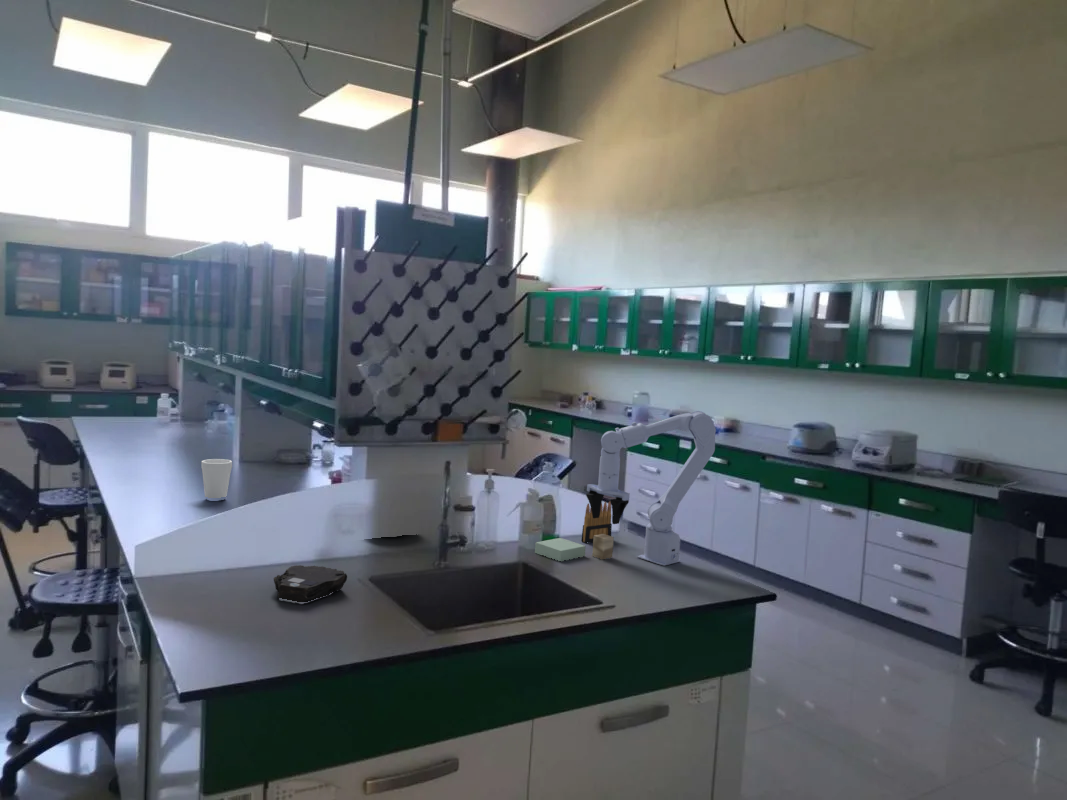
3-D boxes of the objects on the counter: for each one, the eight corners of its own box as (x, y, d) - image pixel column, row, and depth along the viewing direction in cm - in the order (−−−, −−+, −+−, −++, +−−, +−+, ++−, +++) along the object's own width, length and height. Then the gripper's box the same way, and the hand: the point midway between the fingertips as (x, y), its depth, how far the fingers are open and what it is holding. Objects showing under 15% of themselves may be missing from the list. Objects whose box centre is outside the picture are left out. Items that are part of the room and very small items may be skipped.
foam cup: (236, 500, 257) (237, 461, 256) (212, 504, 249) (213, 464, 248) (219, 495, 262) (220, 458, 261) (194, 499, 254) (195, 460, 253)
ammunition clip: (585, 543, 229) (587, 504, 229) (581, 541, 231) (583, 502, 230) (611, 539, 236) (614, 501, 235) (607, 538, 237) (610, 500, 237)
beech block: (612, 557, 216) (613, 537, 215) (602, 559, 213) (604, 538, 213) (601, 554, 219) (603, 533, 218) (592, 556, 216) (593, 535, 215)
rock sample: (270, 583, 177) (271, 562, 176) (339, 579, 183) (340, 559, 182) (276, 609, 161) (277, 586, 160) (351, 604, 167) (353, 581, 166)
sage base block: (584, 556, 215) (585, 545, 215) (560, 561, 208) (560, 550, 208) (559, 547, 222) (560, 537, 222) (534, 552, 216) (535, 542, 215)
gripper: (580, 470, 219) (577, 516, 220) (619, 479, 208) (615, 527, 209) (597, 468, 224) (594, 514, 225) (635, 477, 213) (632, 525, 214)
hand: (605, 520), depth 217 cm, fingers open, 7 cm apart
